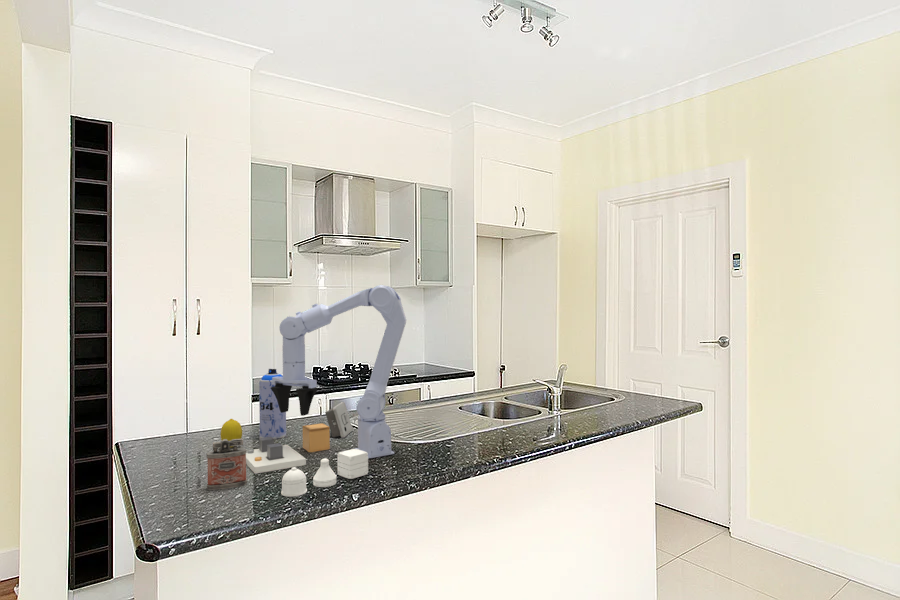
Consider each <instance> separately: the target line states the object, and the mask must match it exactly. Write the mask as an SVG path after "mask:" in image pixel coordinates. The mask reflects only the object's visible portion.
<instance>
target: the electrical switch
mask: <svg viewBox="0 0 900 600" xmlns="http://www.w3.org/2000/svg"><path fill="white" fill-rule="evenodd" d="M325 416H326V421H327V424H328V426H329V427H330V434H331V436H332V438H336V437H340V438H341V439H344V438H346V437H347V436H348V435H349V434H351V432H352V431H353V425H352V422H351V419H350V415H349V411H348V408H347V406H346V403H345V401H342V402H339V403H338V404H336V405H335V406H333V407H332V408H330V409H328V410H327V411H325Z"/></svg>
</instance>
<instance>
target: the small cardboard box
mask: <svg viewBox="0 0 900 600" xmlns="http://www.w3.org/2000/svg"><path fill="white" fill-rule="evenodd" d="M330 434H331V431H330V427H329V425H327V424H325V423H323V422H320V423H314V424H307V425H302V448H303V449H304V450H305V451H307V452H308V453H315V452H321V451H327V450H330V448H331V445H330V444H331V439H330V438H331V437H330V436H331V435H330Z"/></svg>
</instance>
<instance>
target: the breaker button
mask: <svg viewBox="0 0 900 600" xmlns="http://www.w3.org/2000/svg"><path fill="white" fill-rule="evenodd" d="M282 445H283V444H281V443H280V442H278V443H274V444H270V445H267V457H268V458H269V459H270V460H273V459H279V458H283V446H282Z"/></svg>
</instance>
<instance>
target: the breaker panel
mask: <svg viewBox="0 0 900 600" xmlns="http://www.w3.org/2000/svg"><path fill="white" fill-rule="evenodd" d="M270 444H275V439H273V438H272V437H264V438H259V439H258V448H255V449H247V453H246V466H247V467H248V468H249V469H250V470H251V471H252V472H253V473H254V474H256V475H257V474H261V473H268V472H273V471H278V470H284V469H290V468H291V469H292V468H293V467H296V468H297V467H303V466H306V465H307V459H306V458H305V456H303V455H302V454H300V453H299V452H298V451H297V450H295V449H293V448H292V447H291V446H290V445H288V444H281V445H282V446H283V458H279V459H273V460H270V459H269V458H268V457H267V445H270Z"/></svg>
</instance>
